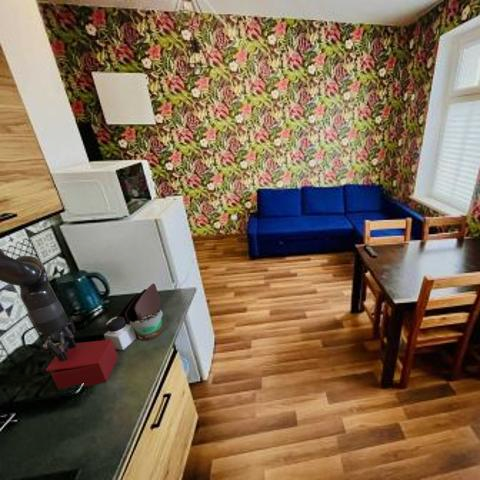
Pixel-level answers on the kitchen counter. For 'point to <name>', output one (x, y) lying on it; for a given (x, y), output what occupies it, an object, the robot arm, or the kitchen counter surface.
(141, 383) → the kitchen counter surface
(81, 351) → the box lid
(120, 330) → the medicine bottle
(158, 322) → the food container
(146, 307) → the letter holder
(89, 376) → the maroon rectangular box
